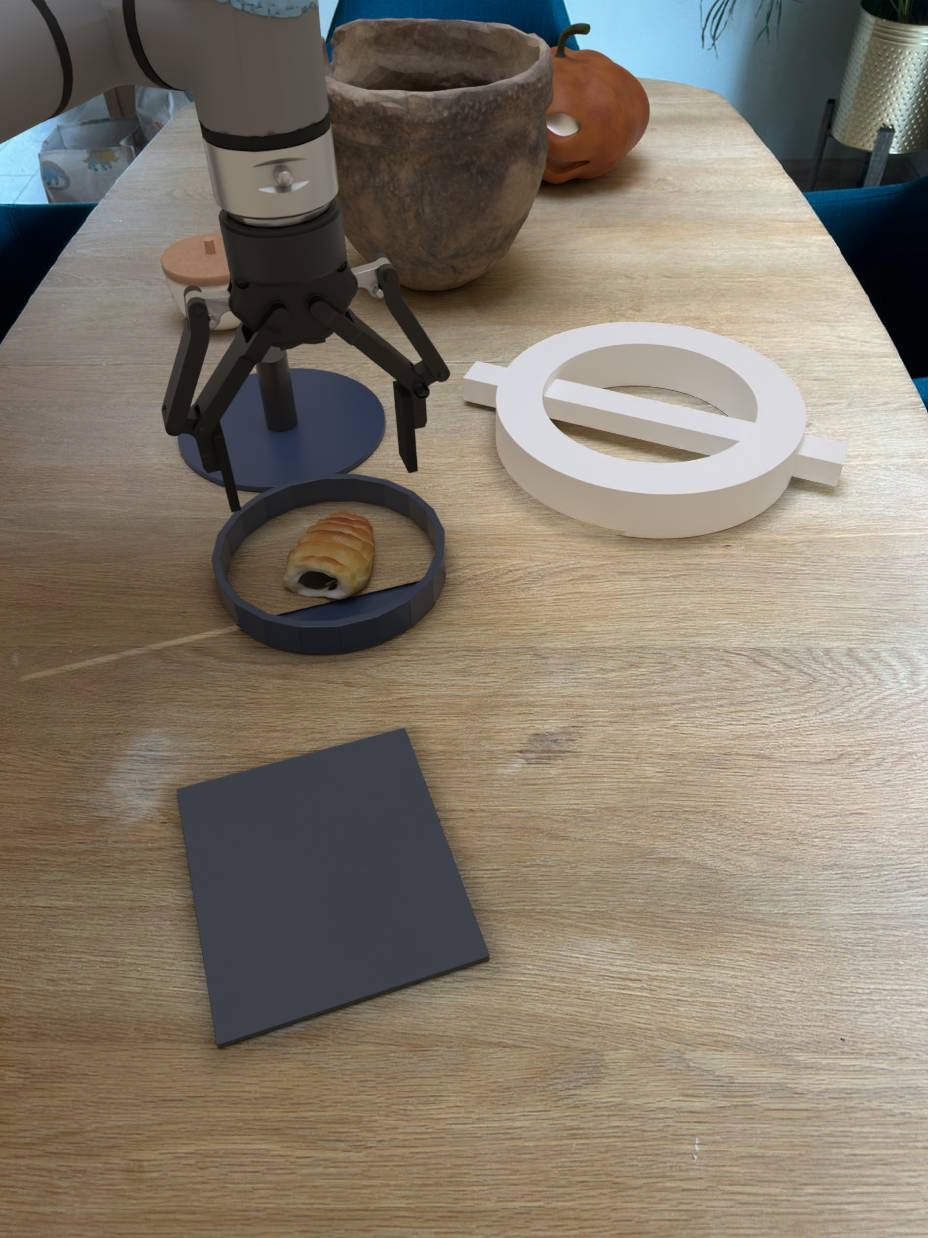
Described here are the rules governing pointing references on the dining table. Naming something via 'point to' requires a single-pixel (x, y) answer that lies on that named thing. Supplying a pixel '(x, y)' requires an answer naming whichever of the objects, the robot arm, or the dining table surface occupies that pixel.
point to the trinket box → (198, 270)
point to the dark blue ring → (343, 619)
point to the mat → (322, 885)
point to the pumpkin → (591, 112)
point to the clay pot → (437, 141)
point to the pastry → (332, 557)
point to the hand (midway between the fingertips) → (322, 481)
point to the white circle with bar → (652, 428)
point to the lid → (293, 426)
